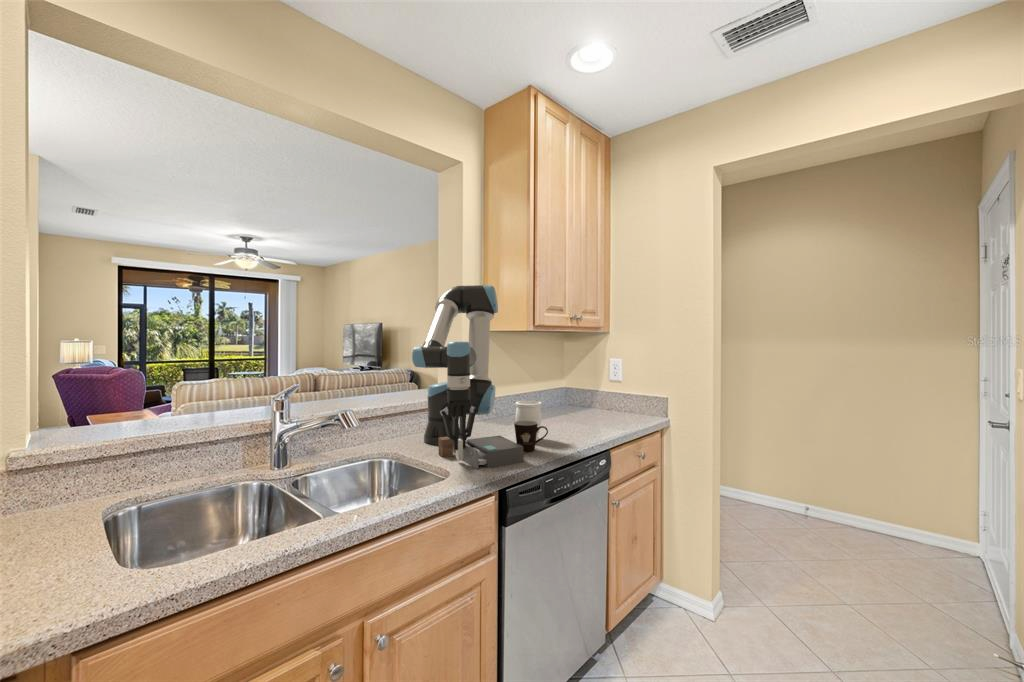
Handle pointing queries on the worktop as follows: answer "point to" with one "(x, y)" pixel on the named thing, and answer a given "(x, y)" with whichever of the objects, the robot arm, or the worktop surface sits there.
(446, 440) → the brown wooden block
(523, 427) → the coffee mug
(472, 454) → the tray
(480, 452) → the disc
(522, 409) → the jar
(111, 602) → the worktop surface
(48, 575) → the worktop surface
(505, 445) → the housing
